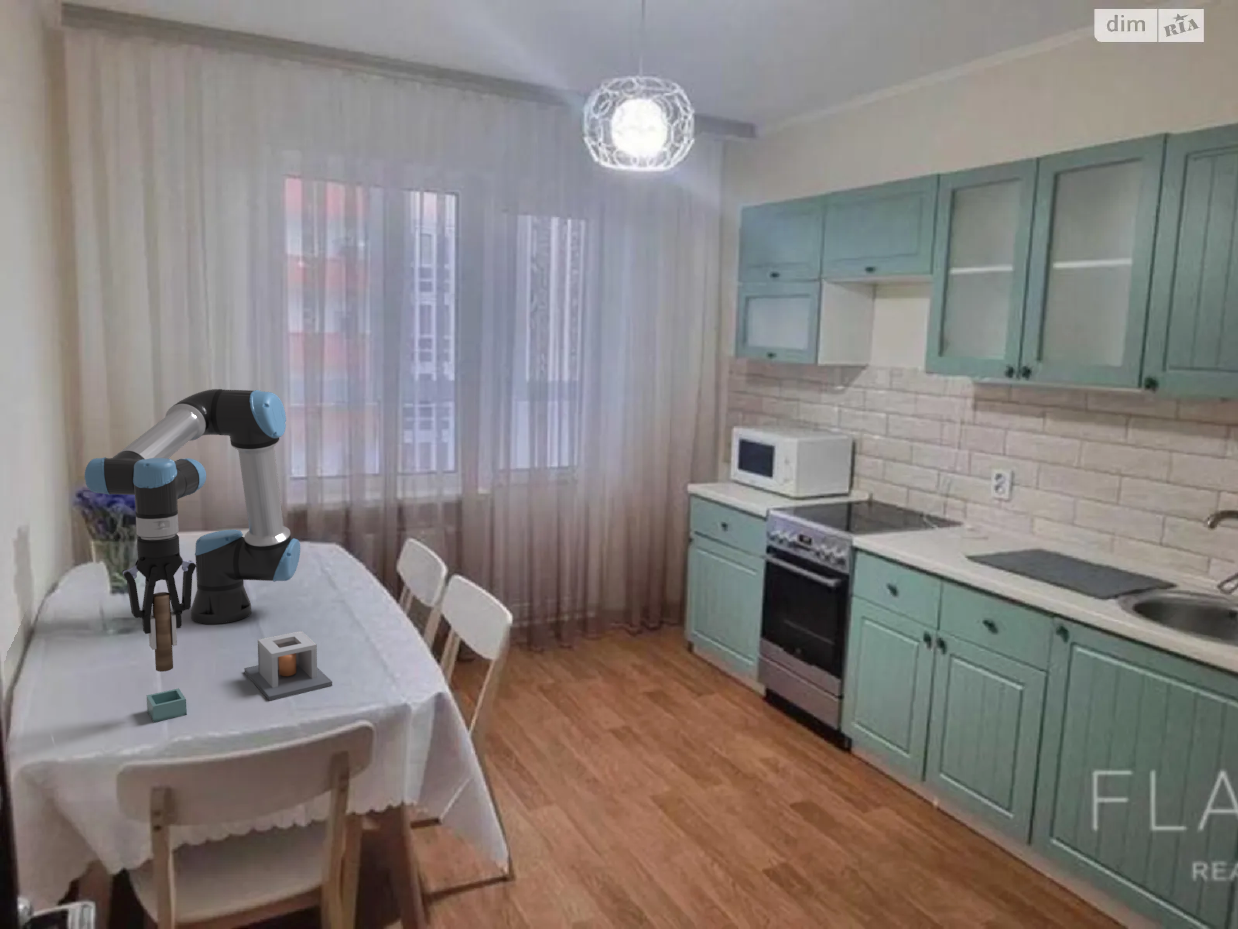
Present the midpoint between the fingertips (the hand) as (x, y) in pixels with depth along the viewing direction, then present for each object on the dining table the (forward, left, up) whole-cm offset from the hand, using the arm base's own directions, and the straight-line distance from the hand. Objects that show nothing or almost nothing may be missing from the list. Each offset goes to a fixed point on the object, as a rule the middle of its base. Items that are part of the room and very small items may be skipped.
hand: (163, 645), depth 177 cm
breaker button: (-3, +26, -14) cm, 30 cm away
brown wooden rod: (0, 0, -5) cm, 5 cm away
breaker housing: (-3, +26, -15) cm, 30 cm away
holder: (0, 0, -15) cm, 15 cm away
